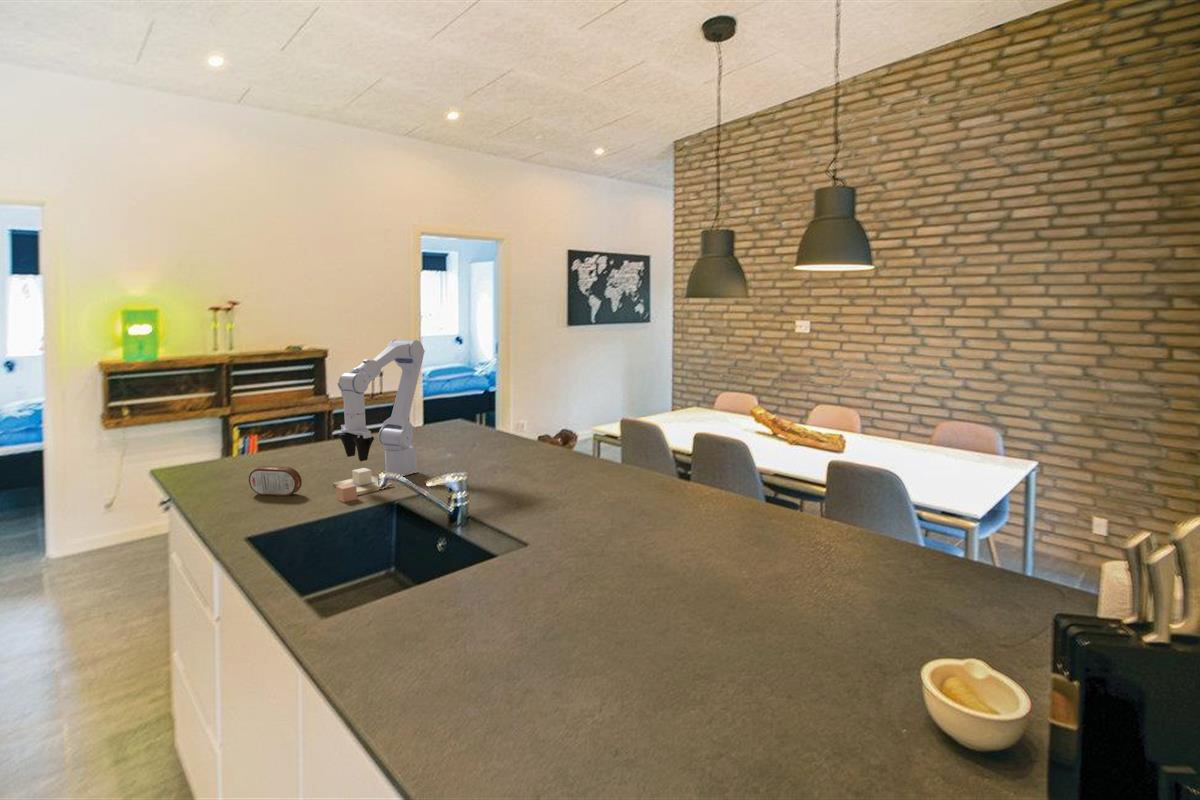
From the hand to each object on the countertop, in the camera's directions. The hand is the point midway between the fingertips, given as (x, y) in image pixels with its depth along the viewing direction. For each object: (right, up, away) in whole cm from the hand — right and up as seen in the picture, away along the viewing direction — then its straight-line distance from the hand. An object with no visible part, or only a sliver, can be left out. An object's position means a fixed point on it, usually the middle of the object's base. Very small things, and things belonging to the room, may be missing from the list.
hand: (357, 458), depth 184 cm
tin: (-22, -11, -4) cm, 25 cm away
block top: (0, -11, -8) cm, 13 cm away
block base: (0, -8, +4) cm, 9 cm away
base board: (0, -9, +4) cm, 10 cm away
